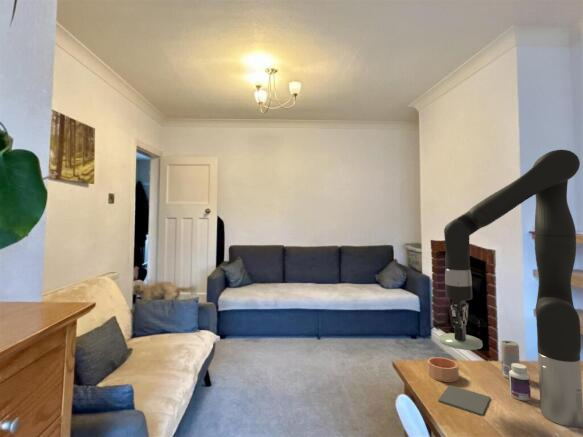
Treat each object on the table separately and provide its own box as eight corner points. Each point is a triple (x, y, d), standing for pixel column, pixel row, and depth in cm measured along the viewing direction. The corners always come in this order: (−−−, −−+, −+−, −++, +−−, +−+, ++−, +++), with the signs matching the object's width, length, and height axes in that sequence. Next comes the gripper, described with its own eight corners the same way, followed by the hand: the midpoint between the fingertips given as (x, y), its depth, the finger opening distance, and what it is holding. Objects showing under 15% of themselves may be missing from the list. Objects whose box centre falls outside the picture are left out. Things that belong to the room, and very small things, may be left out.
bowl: (461, 374, 115) (461, 361, 115) (454, 385, 108) (453, 371, 108) (433, 367, 122) (432, 355, 122) (424, 376, 114) (423, 363, 115)
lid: (486, 341, 100) (485, 322, 100) (477, 353, 91) (477, 332, 91) (445, 333, 108) (445, 316, 108) (434, 343, 99) (433, 324, 99)
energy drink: (514, 373, 115) (513, 340, 116) (523, 380, 110) (522, 345, 110) (499, 373, 116) (497, 340, 116) (507, 380, 110) (506, 345, 111)
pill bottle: (534, 402, 96) (533, 369, 97) (515, 400, 98) (513, 368, 98) (525, 393, 102) (523, 362, 102) (506, 391, 103) (505, 361, 103)
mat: (490, 398, 99) (490, 396, 99) (482, 415, 90) (482, 414, 90) (449, 386, 107) (449, 384, 107) (438, 401, 98) (438, 399, 98)
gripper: (465, 287, 92) (468, 347, 92) (476, 281, 103) (478, 334, 102) (438, 285, 97) (441, 341, 97) (451, 279, 108) (453, 330, 107)
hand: (460, 337), depth 100 cm, fingers closed on lid, 3 cm apart
